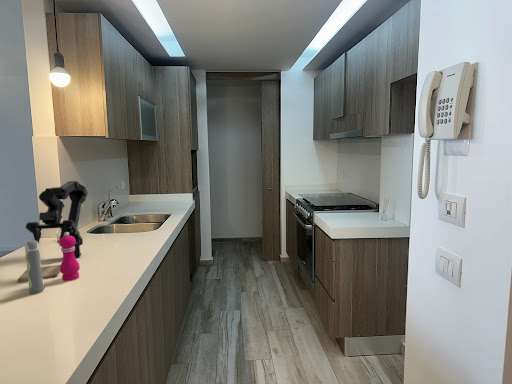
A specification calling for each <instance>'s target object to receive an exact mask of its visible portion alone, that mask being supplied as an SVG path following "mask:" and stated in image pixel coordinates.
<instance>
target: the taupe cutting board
mask: <svg viewBox="0 0 512 384" xmlns="http://www.w3.org/2000/svg"><path fill="white" fill-rule="evenodd" d="M60 266H61V264H54V265H46V266H41V269H42V278H43V280H48V279H53V278H57V277H58V276H59V275H60V273H61V272H60ZM23 282H25V283H26V282H28V276H27V269H26V270H25V271H24V272H23V273H22V274H21V275H20V276H19V277H18V278H17V283H23Z"/></svg>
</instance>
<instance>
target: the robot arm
mask: <svg viewBox="0 0 512 384" xmlns="http://www.w3.org/2000/svg"><path fill="white" fill-rule="evenodd" d="M87 197H88V190H87V188H86V186H84V185H83V184H81V183H80V182H79V181H77V180H71V181H66V183H64V184H62V185H61V186H57V187H54V186H53V187H50V188H48V187H47V188H45V190H44V191H42V192H40V194H39V195H38V198H39V201H41V202H42V204H43V205H44V206H45V207H47V211H45V212H39V216H38V217H39V218H38V219H39V221H41V223H44V224H40V223H39V222H38V221H29V222H26V224H25V229H26V230H27V231H29V232H30V233H32V235H33V238H34V239H33V240H36V241H37V242H38V245H39V244H40V239H41V236H42V233H41V232H42V230H44V229H45V230H46V229H61V230H60V231H61V232H60V235H59V240H60V239H61V238H62V237H63V236H65V235H64V233H65V232H68V233H69V235H70V236H73V237H74V238H75V240H76V243H75V245H74V246H75V250H74V256H75V258H76V259H79V258H81V255H82V252H81V245H83V244H84V243H83V242H84V240H83V237H82V236H81V234H80V231H79V229H78V226H79V219H80V214H81V208H82V205H83V203H84V202H85V201H86V200H87ZM68 198H69V199H70V201H71V203H70V208H69V213H68V217H67V219H66V220H64V219H63V215H62V214H63V209H64V208H65V204H64V202H63V200H67V199H68ZM62 219H63V221H62ZM61 221H62V223H61ZM59 240H58V241H59Z"/></svg>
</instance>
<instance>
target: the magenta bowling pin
mask: <svg viewBox="0 0 512 384" xmlns="http://www.w3.org/2000/svg"><path fill="white" fill-rule="evenodd" d="M64 235H65V236H63V237H62V238H61V239H60V238H59V239H60V240H58V244H59V246H60V247H61V248H60V250H61V251H60V252H61V253H62V260H61V264H60V265H61V266H60V273H61V274H62V275H61V279H62V281H63V282H70V281H71V282H72V281H75V280H78V279H79V278H80V273H79V270H80V267H81V266H80V263H79V261H78V260H77V258H75V256H74V250H75V246H74V245H75V243H76V240H75V238H74V237H73V236H70V235H69V233H68V232H65V233H64Z"/></svg>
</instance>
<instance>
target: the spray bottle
mask: <svg viewBox="0 0 512 384" xmlns="http://www.w3.org/2000/svg"><path fill="white" fill-rule="evenodd" d="M24 249H25V251H24V252H25V261H26V270H27V276H28V281H27V282H28V293H29V294H32V295H35V294H39V293H41V292H44V290H45V285H44V282H43V281H44V279H43V278H42V269H41V267H42V265H41V253H40V247H39V244H38V242H37V241H36V240H34V239H32V240H31V239H30V240H27V241H26V242H25V243H24Z"/></svg>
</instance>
